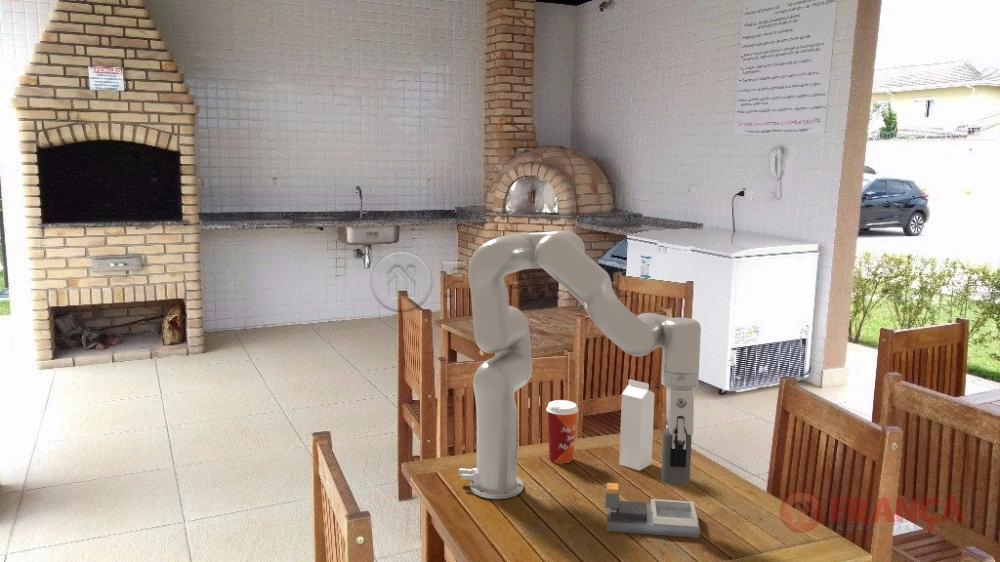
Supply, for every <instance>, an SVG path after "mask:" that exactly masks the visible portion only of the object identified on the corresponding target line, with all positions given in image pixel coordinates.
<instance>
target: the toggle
mask: <svg viewBox="0 0 1000 562" xmlns="http://www.w3.org/2000/svg"><path fill="white" fill-rule="evenodd" d="M619 501H620V487H619V483H614V482H607V483H606V487H605V509H607V508H613V509H619Z"/></svg>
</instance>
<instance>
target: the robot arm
mask: <svg viewBox="0 0 1000 562" xmlns="http://www.w3.org/2000/svg"><path fill="white" fill-rule="evenodd" d="M585 247H586V246H585V244H584V241H583V240H582V238H581V237H580V236H579V235H578V234H576V232H573V231H570V230H559V231H541V232H540V231H539V232H537V231H536V232H519V233H514V234H510V235H504V236H499V237H495V238H493V239H491V240H489V241H487V242H485V243H483V244H482V245H480V246H479V247H478V248H477V249H476V250H475V251H474V252H473V254H472V256H471V258H470V259H469V264H468V281H469V289H470V296H471V297H470V298H471V312H472V320H473V321H472V322H473V323H472V324H473V332H474V340H475V343H476V346H477V347H478V348H479V349H480V350H481V351H482V352H484V353H486V354H494V356H493V357H491V358H488V359H487V360H485V361H484V362H482V363H481V364H480V365H479V367H478V368H477V369H476V371H475V373H474V375H473V381H472V382H473V385H472V386H473V392H474V393H473V394H474V399H475V407H476V467H472V468H467V467H466V468H465V467H460V468H459V469H458V477H461V480H463V481H470V483H469V488H470V489H471V490H470V492H471V493H472V494H473V495H476V496H477V495H478V497H481V498H484V499H490V500H503V499H510V498H514V497H516V496H517V495H519V494H521V493H522V492H523V490H524V482H523V480H522V479H520V478H519V477H517V475H518V473H517V471H518V470H517V469H518V410H517V409H518V408H517V405H516V400H515V394H516V393H515V392H518V390H520V389H521V388H524V386H526V384H527V383H528V382H529V381H530V379H531V377H532V374H533V360H532V359H533V358H532V349H531V348H532V347H531V336H530V335H531V334H530V327H529V323H528V320H527V318H526V316H525V314H524V313H523V311H521V310H520V309H519V308H517V307H515V306H513V305H510V302H509V290H508V287H507V284H506V282H505V280H504V279H505V276H507V275H510V274H513V273H516V272H520V271H523V270H529V269H530V270H531V269H542V270H544V271H545V272H546V273H547V274H548V275H549V276H551V277H552V278H553V279H554V280H555V281H556V282H558V283H559V284H560V285H561V286H562V288H564V289H565V290H567V291H568V292H569V293H570V295H572V296H573V297H574V298H575V299H577V301H579V302H580V303H581V304H582V306H583V308H584V310H585V311H586V313H587V315H588V316H589V318H590V319H591V320H592V322H593V323H594V324H595V326H596V327H597V328H598V330H600V332H601V333H602V334H604V336H606V337H607V339H609V340H610V341H611V342H612V343H613V344H614V345H616V346H617V347H618V348H619V349H621V350H622V351H623V352H625V353H626V354H628V355H630V356H632V357H644V356H646V355H649V354H650V353H651V352H653V351H654V350H655V349H658V348H661V349H662V357H661V359H662V360H661V361H662V362H661V383H660V384H661V385H662V386H664V387H665V388H666V397H665V398H666V399H665V400H666V401H665V404H666V406H665V411H666V412H665V414H666V418H667V422H668V425H667V428H668V430H669V433H670V434H671V435H672V447H670V466H671V467H685V466H686V450H687V449H686V431H687V434H688V435H690V436H692V437H693V436H694V418H695V417H694V416H695V415H694V412H695V411H694V410H695V409H694V406H695V405H694V404H695V399H694V398H695V397H694V395H695V394H694V393H695V392H694V389H697V388H698V387H699V380H700V379H699V377H700V359H701V358H700V357H701V356H700V355H701V354H700V353H701V338H702V335H701V333H702V328H701V323H700V322H699V321H698V320H696V319H694V318H689V317H670V316H667V315H663V314H659V313H653V312H643V313H641V314H638V315H635V313H633V312H632V311H631V310H630V309H628V308H627V307H626V306H625V304H623V303H622V302H621V301H620V299H619V298H618V296H617V295H616V293H615V291H614V289H613V284H612V280H611V277H610V275H609V273H608V272H607V271H606V270H605V269H604V268H603V267H602V266H600V265H599V264H598V263H596V262H595V261H594V260H593V259H592V258H591V257H590V256H589V255H588V254H586V248H585ZM674 431H677V433H674ZM675 436H677V439H676V440H675Z"/></svg>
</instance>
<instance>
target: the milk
mask: <svg viewBox="0 0 1000 562" xmlns="http://www.w3.org/2000/svg"><path fill="white" fill-rule="evenodd" d="M620 408H621V409H620V410H621V411H620V432H619V433H620V437H619V438H620V440H619V465H620V466H624V467H626V468H628V469H632V470H635V471H641V470H643V469H645V468H648V467H649V466H651V465H653V464H652V463H653V462H652V461H653V460H652V459H653V440H654V439H653V437H654V412H655V411H654V410H655V393H654V392H653V391H652V390H650V384H649V383H647V382H642V381H638V380H634V379H631V378H630V379H628V384H627V386H626V387H625V389H624V390H623V391H622V393H621V407H620Z"/></svg>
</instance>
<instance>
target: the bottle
mask: <svg viewBox="0 0 1000 562" xmlns="http://www.w3.org/2000/svg"><path fill="white" fill-rule="evenodd" d="M665 425H666V426H668V422H667V417H666V418H665ZM674 433H677V431H674ZM662 434H663V435H662V452H661V453H662V458H661V480H662V481H663V482H664V483H665V484H668V485H673V486H683V485H687V484H689V482H690V477H691V459H692V458H691V456H692V442H693V441H692V437H693V435H692V436H690V435H688V434H687V431H686V449H687V450H686V466H685V467H671V466H670V447H672V435H671V434H670V433H669V430H668V427H666V428H665V429H664V430H663V433H662ZM676 439H677V436H675V440H676Z"/></svg>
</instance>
